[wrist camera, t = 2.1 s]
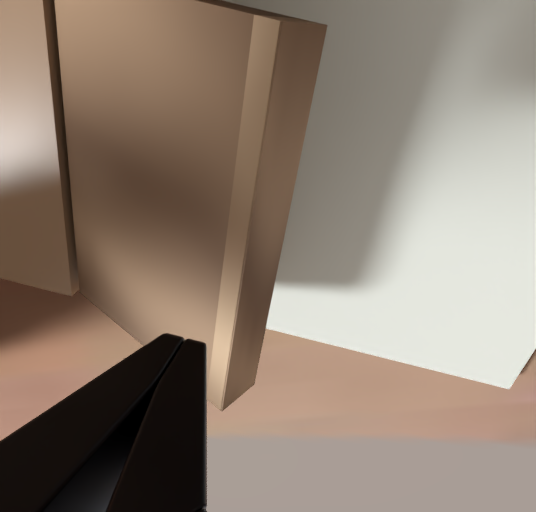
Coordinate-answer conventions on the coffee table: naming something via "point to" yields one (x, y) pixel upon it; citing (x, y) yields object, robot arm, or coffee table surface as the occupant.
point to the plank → (185, 165)
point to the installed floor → (348, 180)
